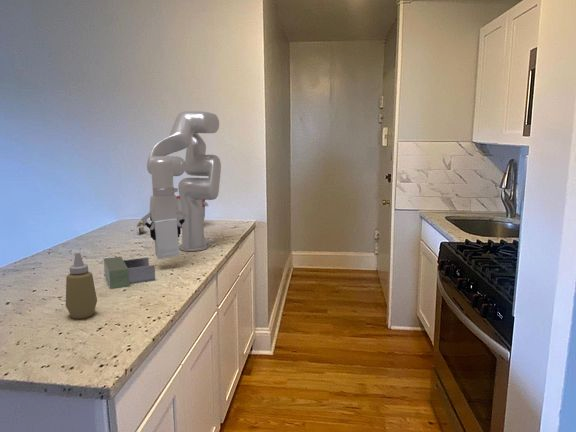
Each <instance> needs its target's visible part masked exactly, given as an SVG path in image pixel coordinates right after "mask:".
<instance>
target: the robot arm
mask: <svg viewBox="0 0 576 432" xmlns="http://www.w3.org/2000/svg"><path fill="white" fill-rule="evenodd" d="M219 129H220V120H219V117H218V116H217V115H216V114H215V113H212V112H208V111H193V110H192V111H186V110H185V111H181V112H180V113H178V114H177V116H176V118H175V120H174V123H173V125H172V129H171V130H170V132H169V135H167V136H166V137H164V138H163V139H161V140H160V141H158V142H157V143H155V144H154V146H153V147H152V148H151V151H150V153H149V155H148V157H147V163H146V170H147V172H148V173H149V174H150V175H151V188H152V195H151V196H150V199H149V212H148V213H147V214H146V215H144V216H142V217H141V219H140V221H141V222H142V221H143V222H142V223H144V224H145V227H147V228H148V229H149V235H150V238H152V240H153V241H154V240H156V236H155V229H154V227H155V225H154V223H155V221H161V220H168V219H177V229H178V238H180V237H181V236H182V237H181V239H182V241H181V242H182V243H181V244H180V245H179V251H183V252H199V251H204V250H206V249H208V244H213V243H216V242H215V238H209V237H205V230H204V229H205V226H204V225H205V223H204V221H205V218H204V219H203V207H202V205H201V204H200V203H199V201H198V200H205V201H211V200H212V201H213V200H216V199H217V198H218V196H219V193H220V192H219V191H220V185H221V184H220V183H221V174H222V173H221V171H222V163H221V159H220V157H219V156H217V154H216V155H215V154H206V150H207V144H206V142H205V141H204V139H203V138H202V137H201V136H200V134H216V133H217V132H218V131H219ZM183 150H185V157H184V158H182V157H181V156H174V155H171V154H173V153H178V152H179V151H183ZM169 155H170V156H169ZM184 173H186V174H187V176H188V175H189V176H192V177H185V178H184V177H183V178H182V179H181V180H179V182H178V185H177V188H176V187H174V177H180V176H182V175H183V174H184ZM193 176H195V177H193ZM175 193H178V194H179V195H178V196H180V201H181V211H179V210H178V203H177V198H176V194H175ZM179 214H180V215H181V216H182V219H181V220H180V221H178V220H179ZM148 219H149V221H150V223H149V222H148V221H147V220H148ZM181 225H182V227H181ZM180 235H181V236H180Z"/></svg>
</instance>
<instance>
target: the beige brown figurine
mask: <svg viewBox="0 0 576 432" xmlns="http://www.w3.org/2000/svg"><path fill="white" fill-rule="evenodd" d="M145 227H146V225H145V224H144V223H143V221H142V220H141V221H139V222H137V224H136V229H138V235H139V236H140V235H141V233H142V232H145Z"/></svg>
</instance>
